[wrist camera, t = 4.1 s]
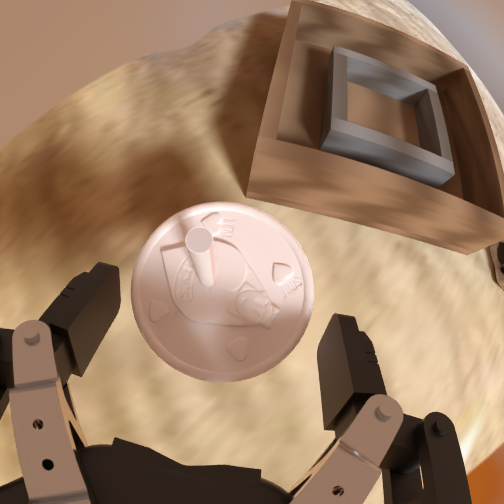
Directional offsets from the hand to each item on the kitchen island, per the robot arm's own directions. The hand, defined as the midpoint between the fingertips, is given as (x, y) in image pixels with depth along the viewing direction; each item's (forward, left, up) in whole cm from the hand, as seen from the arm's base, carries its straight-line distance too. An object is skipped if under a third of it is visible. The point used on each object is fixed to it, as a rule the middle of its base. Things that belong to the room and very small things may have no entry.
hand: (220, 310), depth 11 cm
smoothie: (0, +1, -9) cm, 9 cm away
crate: (+10, +19, -9) cm, 23 cm away
